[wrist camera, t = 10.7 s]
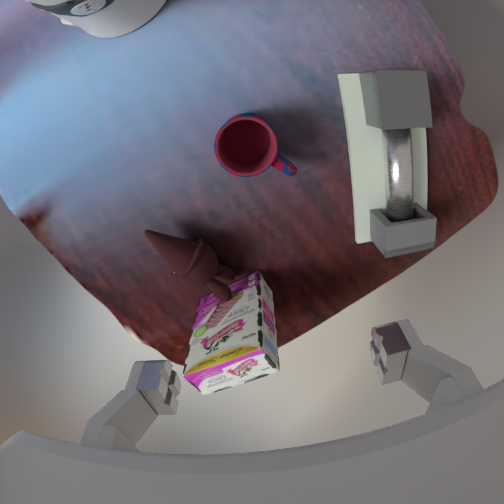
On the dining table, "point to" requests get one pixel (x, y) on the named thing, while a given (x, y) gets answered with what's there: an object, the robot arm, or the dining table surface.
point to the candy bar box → (233, 337)
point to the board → (374, 159)
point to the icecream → (193, 263)
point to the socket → (403, 232)
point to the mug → (249, 147)
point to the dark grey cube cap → (396, 99)
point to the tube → (398, 174)
